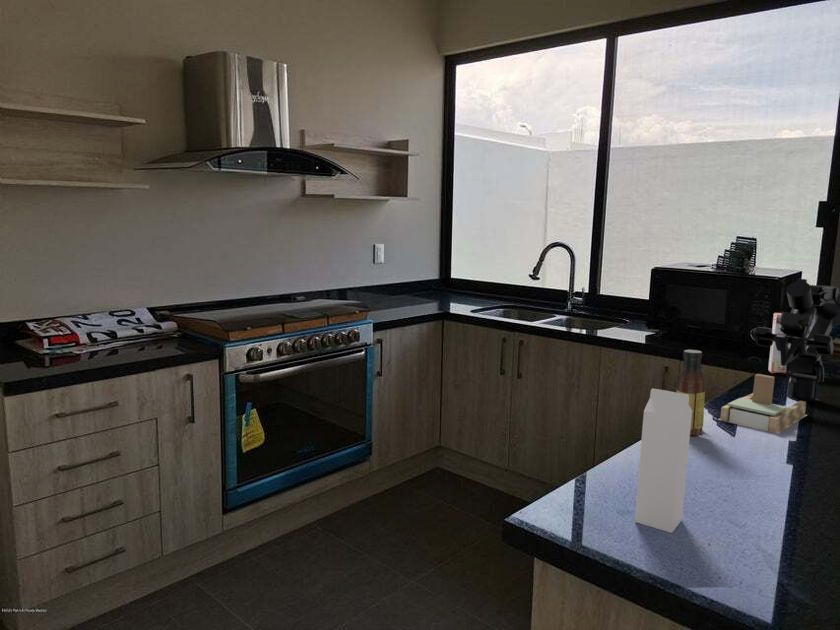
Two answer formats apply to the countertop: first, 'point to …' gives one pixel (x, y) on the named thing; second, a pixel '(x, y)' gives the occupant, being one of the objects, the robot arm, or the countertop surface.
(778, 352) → the cracker box
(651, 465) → the milk
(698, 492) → the countertop surface
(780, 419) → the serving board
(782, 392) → the countertop surface
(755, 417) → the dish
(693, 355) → the sauce bottle
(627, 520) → the countertop surface
